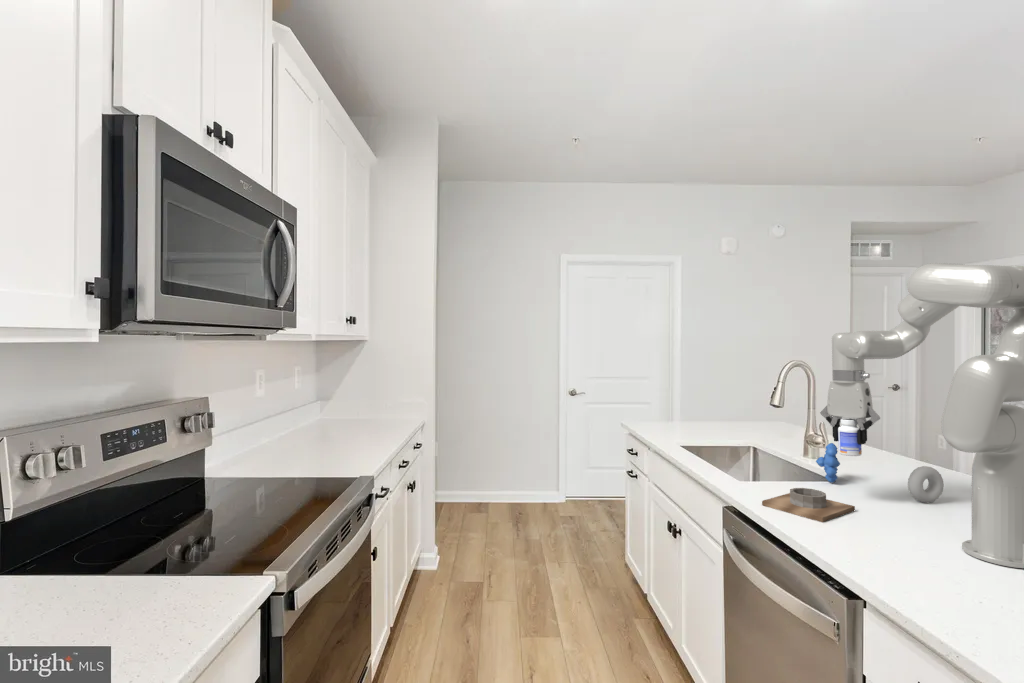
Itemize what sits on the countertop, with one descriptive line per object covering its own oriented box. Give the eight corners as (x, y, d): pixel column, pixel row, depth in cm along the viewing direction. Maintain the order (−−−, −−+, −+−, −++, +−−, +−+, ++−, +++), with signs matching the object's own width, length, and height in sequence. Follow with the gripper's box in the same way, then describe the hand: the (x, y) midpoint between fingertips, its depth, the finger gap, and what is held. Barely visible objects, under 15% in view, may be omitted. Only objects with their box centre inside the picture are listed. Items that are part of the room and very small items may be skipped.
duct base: (854, 510, 139) (854, 494, 139) (822, 522, 131) (822, 505, 131) (794, 495, 153) (794, 481, 153) (762, 505, 144) (762, 489, 144)
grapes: (816, 475, 175) (816, 439, 175) (840, 478, 171) (840, 441, 171) (814, 483, 165) (814, 445, 165) (840, 487, 161) (840, 447, 161)
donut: (935, 499, 149) (935, 464, 149) (947, 503, 145) (947, 467, 145) (904, 501, 147) (904, 465, 147) (915, 505, 144) (915, 468, 144)
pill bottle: (865, 456, 143) (864, 420, 144) (843, 456, 144) (843, 420, 144) (855, 452, 149) (855, 418, 149) (835, 452, 150) (834, 418, 150)
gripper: (889, 377, 142) (891, 445, 141) (823, 375, 156) (824, 437, 156) (876, 378, 138) (877, 448, 137) (809, 376, 152) (811, 439, 152)
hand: (849, 441), depth 147 cm, fingers closed on pill bottle, 5 cm apart
